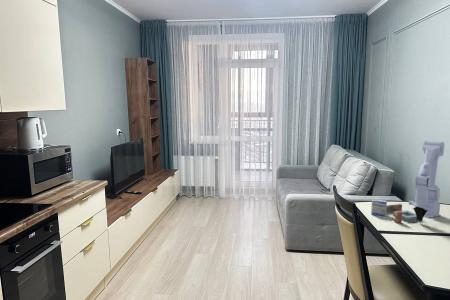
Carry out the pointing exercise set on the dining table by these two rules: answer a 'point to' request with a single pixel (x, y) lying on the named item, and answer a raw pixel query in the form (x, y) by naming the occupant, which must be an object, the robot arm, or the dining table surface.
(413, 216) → the socket block
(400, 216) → the brown rounded peg
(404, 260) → the dining table surface
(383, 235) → the dining table surface
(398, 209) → the walnut wall
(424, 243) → the dining table surface
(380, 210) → the medicine box
